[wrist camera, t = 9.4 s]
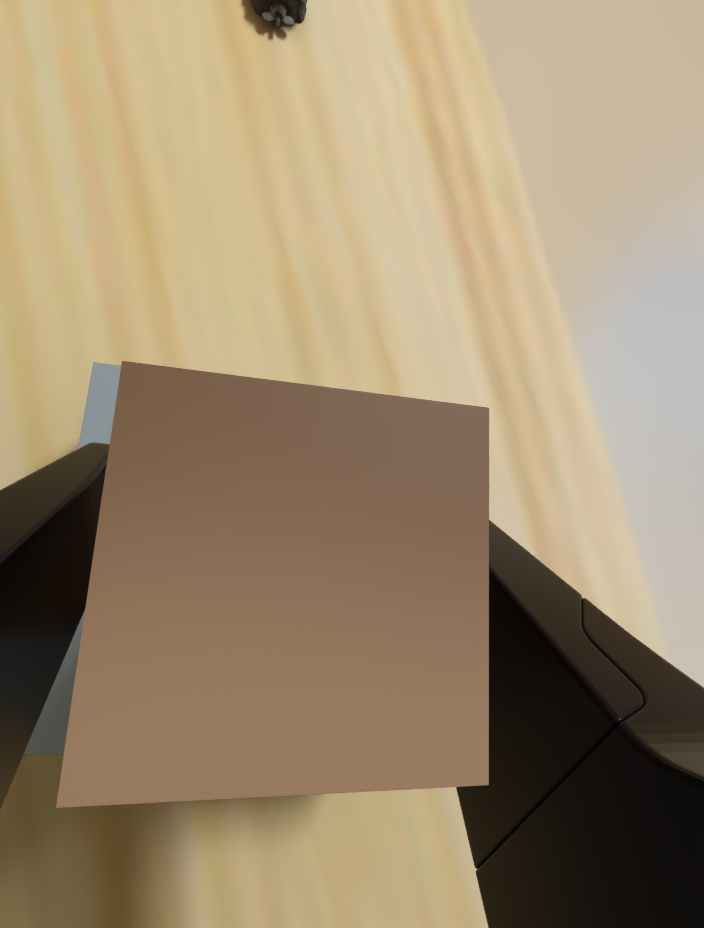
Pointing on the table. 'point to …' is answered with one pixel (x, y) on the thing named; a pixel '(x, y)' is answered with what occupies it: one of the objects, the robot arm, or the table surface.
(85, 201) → the table surface
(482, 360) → the table surface
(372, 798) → the table surface
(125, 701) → the tan rectangular block
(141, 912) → the table surface
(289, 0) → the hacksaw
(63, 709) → the holder
